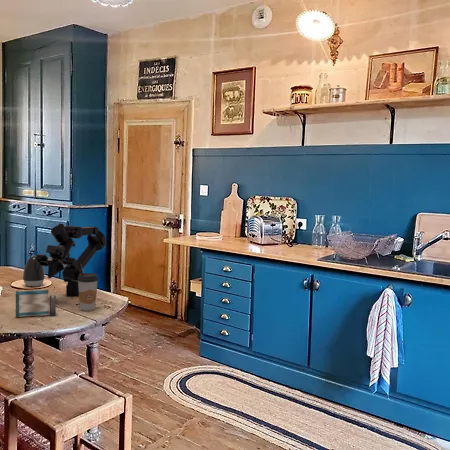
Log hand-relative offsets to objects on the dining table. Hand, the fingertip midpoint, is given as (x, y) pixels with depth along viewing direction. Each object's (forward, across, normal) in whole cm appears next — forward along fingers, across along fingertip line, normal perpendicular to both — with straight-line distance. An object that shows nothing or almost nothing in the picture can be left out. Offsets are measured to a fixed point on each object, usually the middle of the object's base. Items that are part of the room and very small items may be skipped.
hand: (48, 277), depth 203 cm
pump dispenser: (-10, -27, +28) cm, 40 cm away
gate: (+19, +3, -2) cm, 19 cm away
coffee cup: (+7, +17, +11) cm, 22 cm away
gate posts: (+16, +1, +2) cm, 16 cm away
